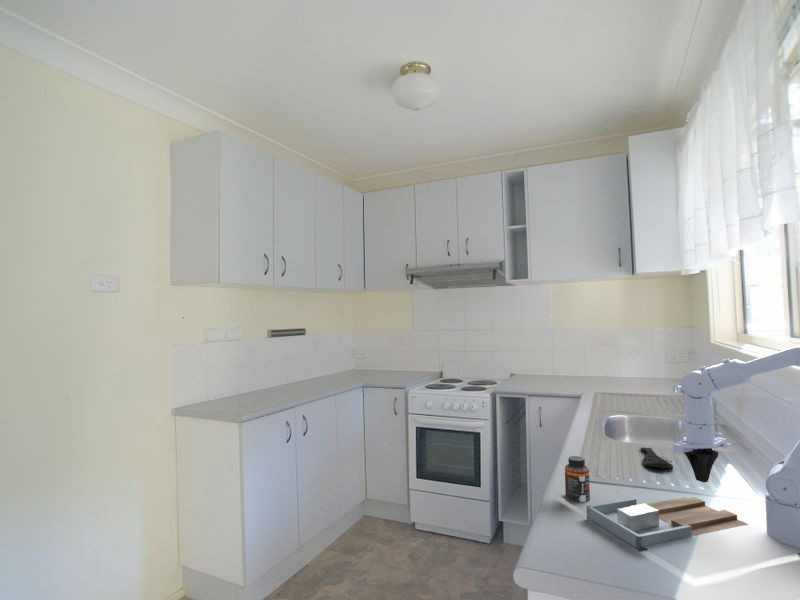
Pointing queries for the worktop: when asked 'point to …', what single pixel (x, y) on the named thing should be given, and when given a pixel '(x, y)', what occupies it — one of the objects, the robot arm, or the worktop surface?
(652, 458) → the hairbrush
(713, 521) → the slot board
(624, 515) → the chip
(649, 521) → the chip
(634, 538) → the tray
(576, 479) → the supplement bottle
